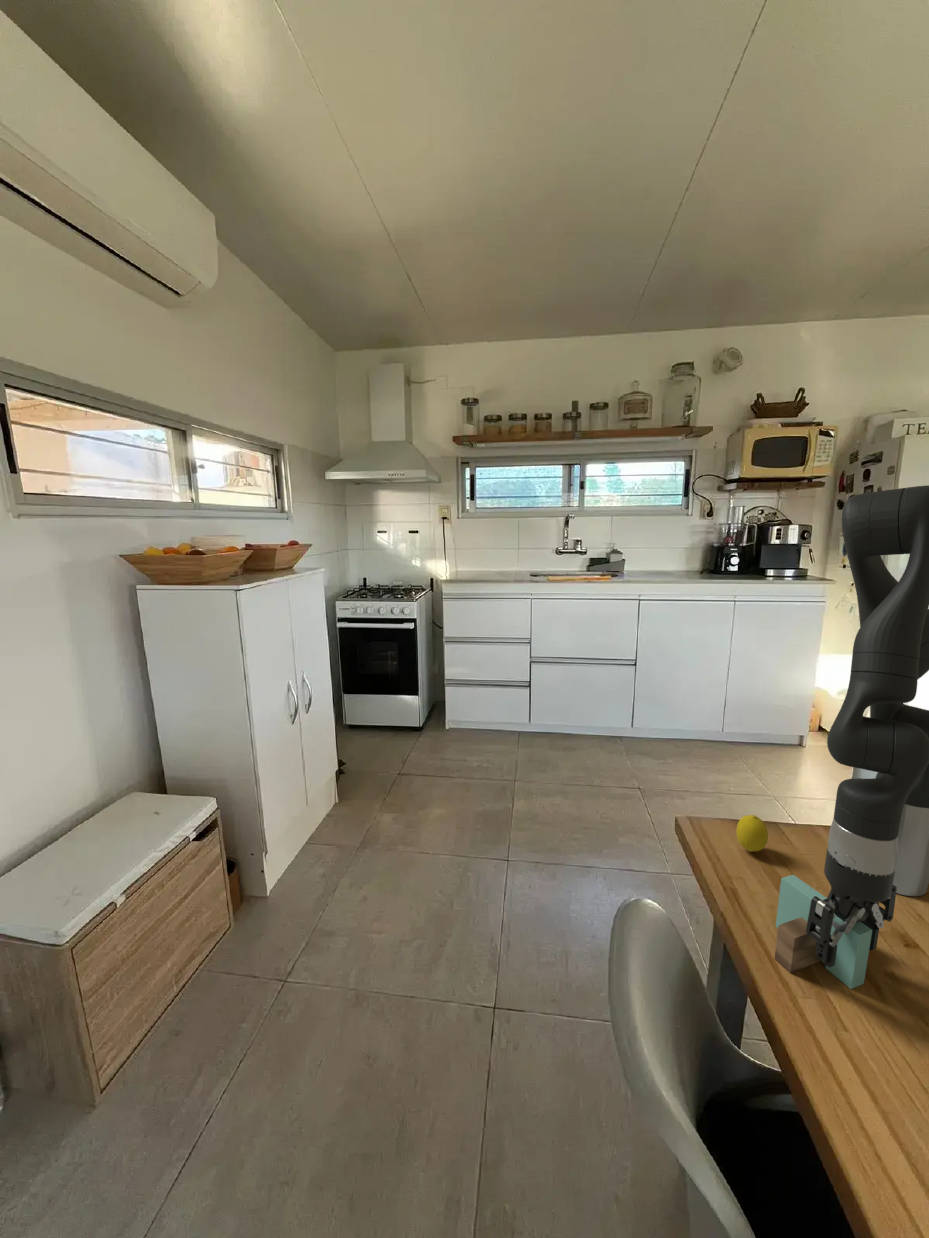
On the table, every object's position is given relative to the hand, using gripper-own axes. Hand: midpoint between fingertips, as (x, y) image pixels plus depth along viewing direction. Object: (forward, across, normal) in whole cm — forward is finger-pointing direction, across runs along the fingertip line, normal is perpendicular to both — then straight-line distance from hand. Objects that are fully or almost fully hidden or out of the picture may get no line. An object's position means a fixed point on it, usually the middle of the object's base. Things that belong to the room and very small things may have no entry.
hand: (845, 953), depth 73 cm
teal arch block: (+4, 0, -4) cm, 5 cm away
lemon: (+4, -11, -26) cm, 28 cm away
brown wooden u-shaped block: (+4, 0, -4) cm, 5 cm away
